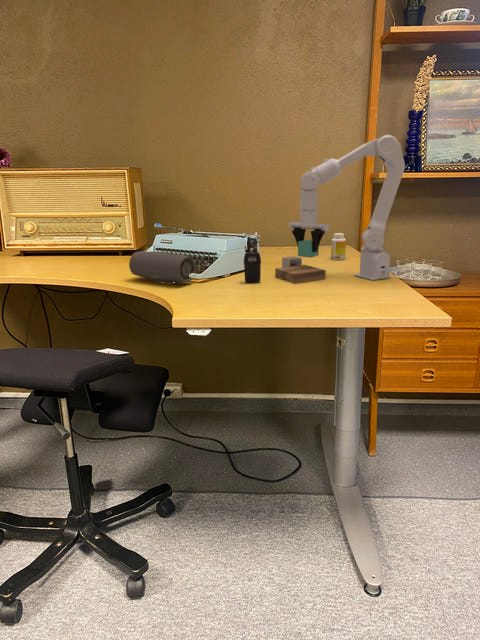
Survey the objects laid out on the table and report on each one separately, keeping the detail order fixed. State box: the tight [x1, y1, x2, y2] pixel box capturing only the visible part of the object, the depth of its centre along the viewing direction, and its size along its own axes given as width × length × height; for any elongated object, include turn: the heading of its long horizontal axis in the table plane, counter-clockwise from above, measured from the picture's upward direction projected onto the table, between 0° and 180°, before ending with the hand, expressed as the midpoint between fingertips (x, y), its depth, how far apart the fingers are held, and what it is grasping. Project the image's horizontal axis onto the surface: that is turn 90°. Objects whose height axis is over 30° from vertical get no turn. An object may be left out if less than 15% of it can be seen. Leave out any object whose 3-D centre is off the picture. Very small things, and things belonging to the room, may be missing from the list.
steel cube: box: [281, 255, 303, 268], centre depth 169 cm, size 5×5×5 cm
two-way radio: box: [243, 235, 262, 284], centre depth 153 cm, size 6×4×15 cm
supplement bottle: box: [330, 232, 347, 261], centre depth 189 cm, size 6×6×10 cm
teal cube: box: [297, 239, 320, 259], centre depth 159 cm, size 5×5×5 cm
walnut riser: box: [274, 264, 327, 284], centre depth 158 cm, size 12×12×3 cm
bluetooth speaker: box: [128, 251, 197, 284], centre depth 157 cm, size 23×9×10 cm, turn 56°
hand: (307, 251), depth 159 cm, fingers closed on teal cube, 5 cm apart
